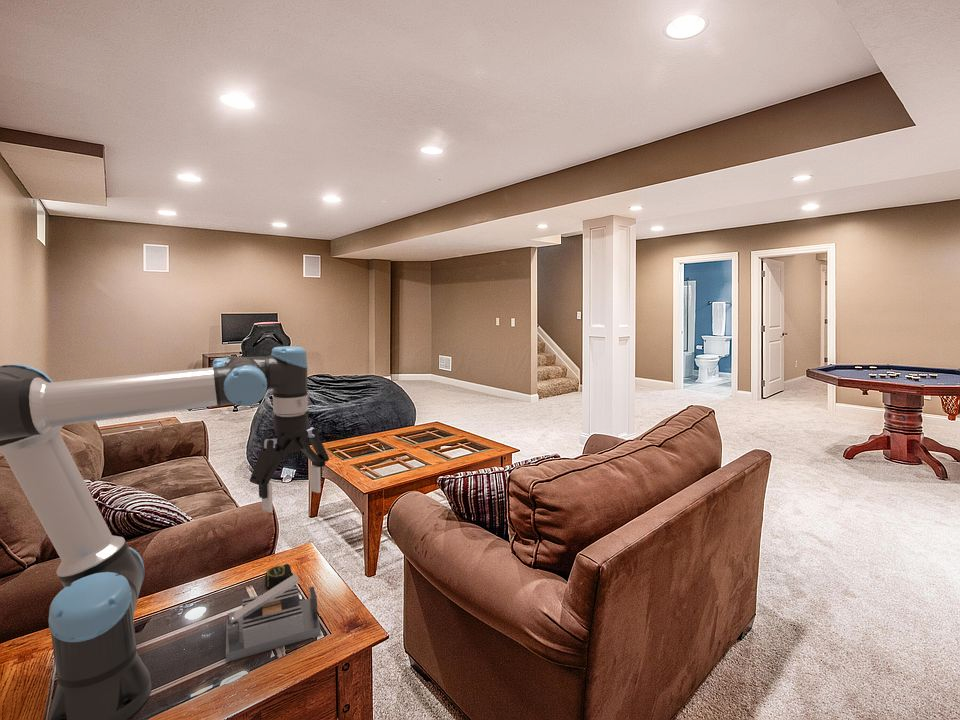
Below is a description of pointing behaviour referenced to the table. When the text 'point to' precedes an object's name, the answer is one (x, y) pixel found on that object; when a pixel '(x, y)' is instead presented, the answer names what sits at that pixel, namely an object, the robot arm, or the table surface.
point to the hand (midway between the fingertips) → (292, 500)
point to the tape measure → (277, 575)
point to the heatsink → (273, 625)
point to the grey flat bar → (263, 599)
